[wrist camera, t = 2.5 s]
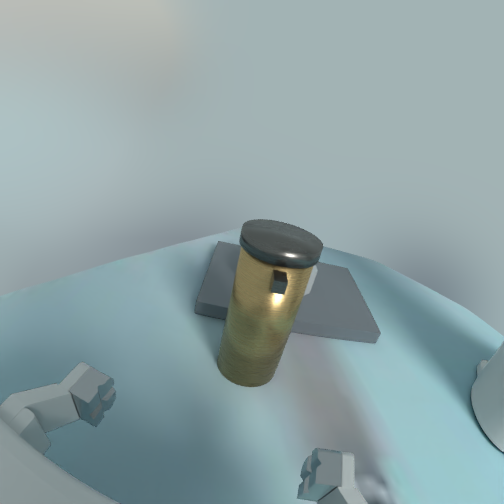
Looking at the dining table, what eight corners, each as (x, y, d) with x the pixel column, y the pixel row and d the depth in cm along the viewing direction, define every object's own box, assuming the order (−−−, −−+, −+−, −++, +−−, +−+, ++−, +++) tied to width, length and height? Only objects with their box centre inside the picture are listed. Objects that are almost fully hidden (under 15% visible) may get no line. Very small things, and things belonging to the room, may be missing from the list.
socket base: (344, 276, 45) (353, 250, 43) (375, 343, 30) (392, 311, 28) (216, 250, 44) (222, 221, 42) (194, 313, 29) (200, 274, 27)
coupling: (220, 331, 27) (245, 210, 23) (275, 342, 28) (313, 225, 23) (208, 392, 20) (237, 248, 16) (278, 403, 21) (334, 269, 16)
